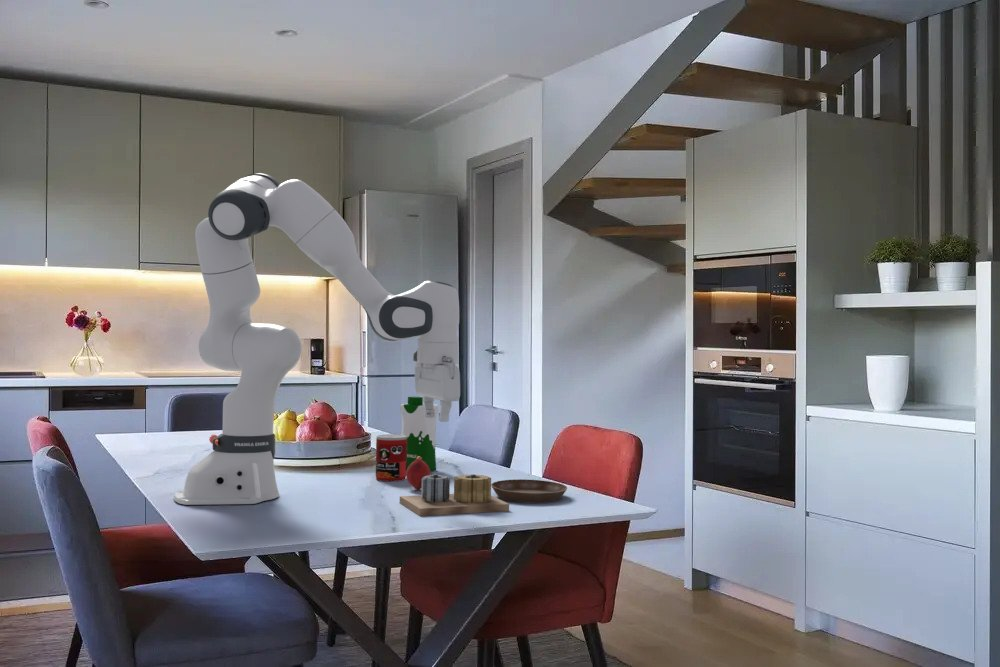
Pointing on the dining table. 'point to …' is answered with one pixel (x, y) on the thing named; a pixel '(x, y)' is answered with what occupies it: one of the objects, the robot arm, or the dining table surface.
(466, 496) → the gear board
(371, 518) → the dining table surface
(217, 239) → the robot arm
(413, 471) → the onion
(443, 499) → the steel gear
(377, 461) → the canned food
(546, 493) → the plant saucer
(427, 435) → the milk carton
